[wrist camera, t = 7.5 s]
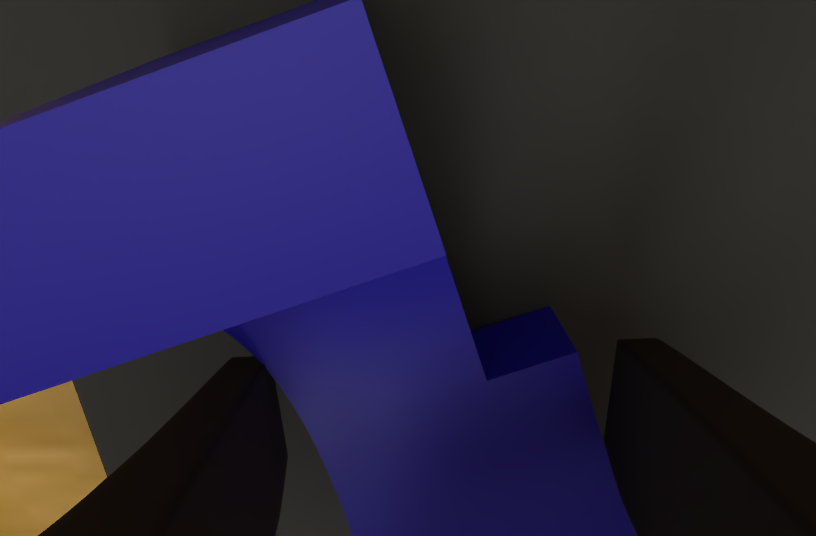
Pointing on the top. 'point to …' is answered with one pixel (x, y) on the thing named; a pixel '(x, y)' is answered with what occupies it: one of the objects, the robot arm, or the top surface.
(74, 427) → the top surface
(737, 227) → the mat
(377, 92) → the blue angular piece
